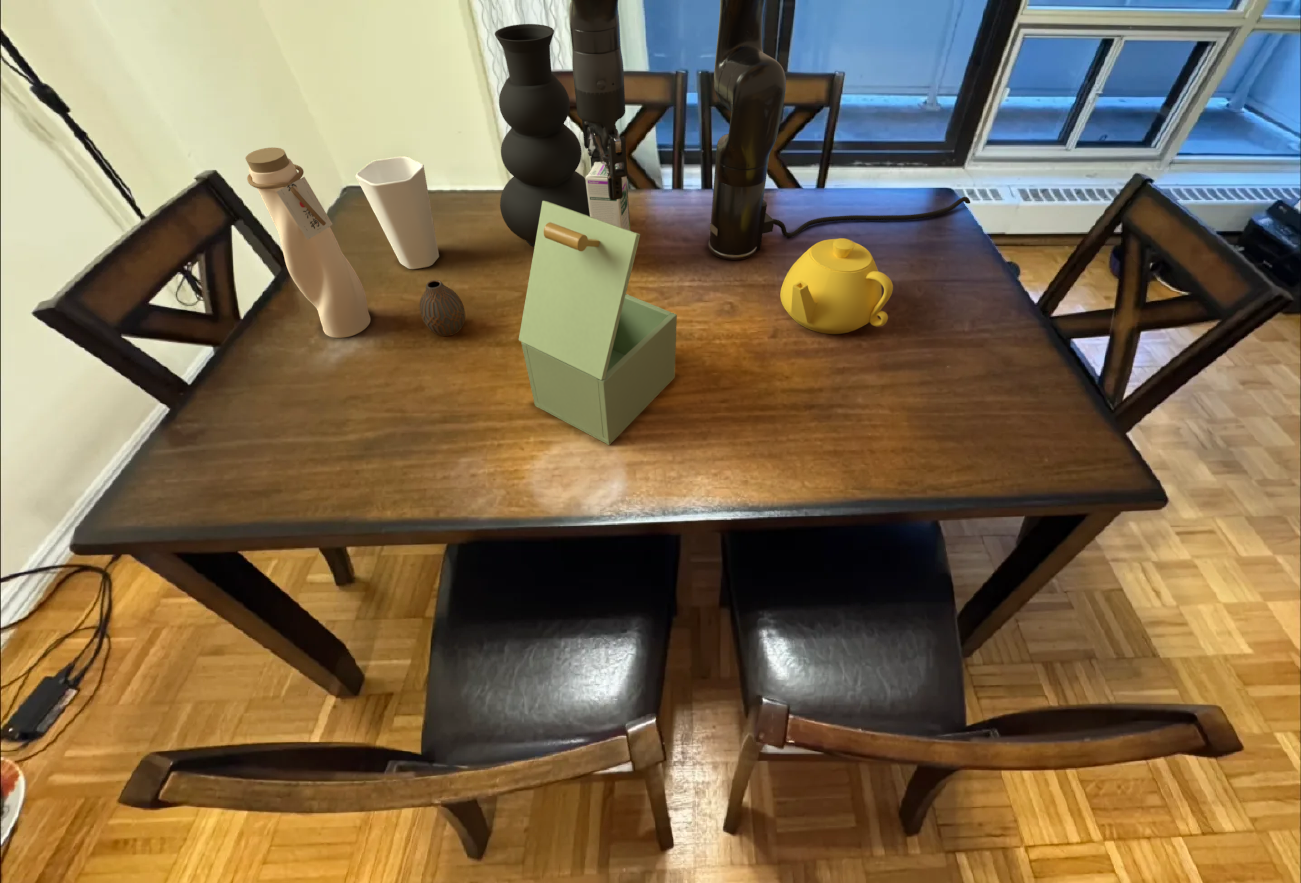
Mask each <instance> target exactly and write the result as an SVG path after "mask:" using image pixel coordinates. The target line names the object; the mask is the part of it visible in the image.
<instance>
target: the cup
mask: <svg viewBox="0 0 1301 883" xmlns="http://www.w3.org/2000/svg"><path fill="white" fill-rule="evenodd" d="M355 178H356V180H357V182H358V184H359V186H360V188H361V189H362V192H363V193H364V196H365V197H366V200H367V201H368V203H369V206H370V207H371V209H372V211H373V213H374V215H375V218H376V219H377V221H378V223H379V225H380V227H381V229H382V230H383V233H384V235H385V237H386V239H387V241H388V243H389V244H390V246H391V248H392V250H393V252H394V254H395V256H396V257H397V260H398V262H399V264H401V265H402V266H404V267H405V268H407V269H408V270H418V269H422V268H428V267H431V266H433V265H434V264H435V262H436V261H437V260H438V259H439V258H440V254H439V248H438V241H437V236H436V229H435V224H434V218H433V212H432V207H431V200H430V195H429V189H428V183H427V178H426V171H425V165H424V164H423V163H422V162H419V161H417V160H415V159H413V158H411V157H409V156H405V155H401V156H393V157H386V158H379V159H374V160H370V161H369V162H368V163H367V164H366V165H364V166H363V167H362V168H361V169H359V170H358V171H357V172H356V173H355Z"/></svg>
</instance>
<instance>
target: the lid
mask: <svg viewBox="0 0 1301 883" xmlns="http://www.w3.org/2000/svg"><path fill="white" fill-rule="evenodd" d="M640 238H641V233H638V232H635V231H632V230H631V231H629V230H627V229H624V228H621V227H618V226H615V225H612V224H610V223H607V222H604V221H601V220H598V219H595V218H593V217H590V216H587V215H584V214H581V213H579V212H576V211H573V210H570V209H567V208H564V207H562V206H559V205H556V204H553V203H550V202H547V201H542V207H541V213H540V218H539V224H538V230H537V236H536V242H535V247H533V255H532V260H531V265H530V271H529V278H528V281H527V282H528V283H527V289H526V294H525V295H526V296H525V300H524V301H525V302H524V307H523V311H522V319H521V324H520V329H519V336H518V341H519V342H521V343H522V342H524V343H526V344H528V345H530V346H532V347H534V348H536V349H538V350H540V351H542V352H544V353H546V354H548V355H550V356H552V357H555V358H557V359H559V360H561V361H563V362H565V363H567V364H569V365H571V366H573V367H575V368H577V369H579V370H581V371H583V372H586V373H588V374H590V375H592V376H594V377H596V378H598V379H600V380H604V379H605V377H606V373H607V369H608V365H609V361H610V357H611V353H612V349H613V345H614V340H615V336H616V332H617V328H618V324H619V320H620V316H621V312H622V308H623V304H624V300H625V295H626V294H627V292H628V286H629V282H630V278H631V275H632V270H633V266H634V262H635V258H636V253H637V250H638V246H639V243H640Z"/></svg>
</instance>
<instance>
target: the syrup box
mask: <svg viewBox="0 0 1301 883" xmlns="http://www.w3.org/2000/svg"><path fill="white" fill-rule="evenodd" d="M609 164H610V163H609ZM615 169H617V165H616V164H615ZM627 177H628V175H627V176H626V177H622V194H623V196H622V198H621V199H617V200H611V199H610V198H609V193H608V179H607V173H606V169H605V165H604V164H602V163H601V162H595V163H594V165H593V166H592V168H591V167H590V169H589V171H588V172H587V174H586V175H585V176H584V178H585V180H586V187H587V195H588V203H589V212H590V217H593V218H595V219H598V220H601V221H604V222H607V223H610V224H612V225H615V226H618V227H621V228H624V229H627V230H629V231H632V230H631V216H630V203H629V190H628V178H627Z"/></svg>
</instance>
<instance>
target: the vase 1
mask: <svg viewBox="0 0 1301 883" xmlns="http://www.w3.org/2000/svg"><path fill="white" fill-rule="evenodd" d="M419 313H420V317H421V319H422V321H423V324H424V325H425V326H426V328H427V329H428V330H429V331H430V332H432V333H434V334H436V335H438V336H441V337H450V336H453V335H456V334H457V333H459V332H460V331H461V329H462V328H463V327H464V325H465V321H466V309H465V305H464V302H463V301H462V299H461V297H460V296H459V295H458V293H457V292H456V291H454V290H453V289H452V288H450V287H448V286H447V285H445V284H444V283H443V281H441V280H439V279H433V280H430V281H428V282H427V283H426V284H425V289H424V291H423V294H422V295H421V298H420V300H419Z"/></svg>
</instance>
